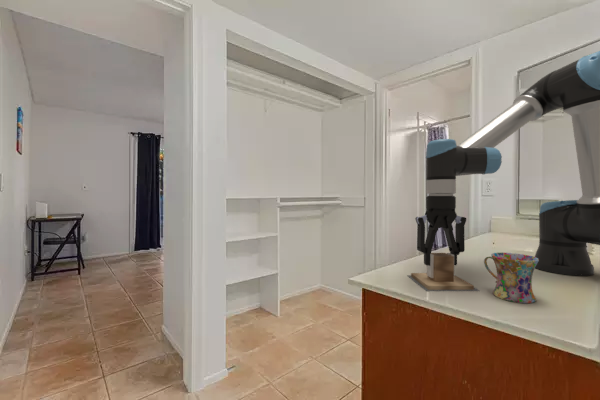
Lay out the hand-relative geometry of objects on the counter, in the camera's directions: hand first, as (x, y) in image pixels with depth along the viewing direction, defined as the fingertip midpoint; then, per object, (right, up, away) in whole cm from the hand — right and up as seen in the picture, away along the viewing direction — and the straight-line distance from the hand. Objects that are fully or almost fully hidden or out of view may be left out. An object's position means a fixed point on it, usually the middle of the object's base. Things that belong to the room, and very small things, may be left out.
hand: (440, 276), depth 81 cm
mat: (0, -2, 0) cm, 2 cm away
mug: (+12, -3, -10) cm, 16 cm away
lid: (0, -2, 0) cm, 2 cm away
